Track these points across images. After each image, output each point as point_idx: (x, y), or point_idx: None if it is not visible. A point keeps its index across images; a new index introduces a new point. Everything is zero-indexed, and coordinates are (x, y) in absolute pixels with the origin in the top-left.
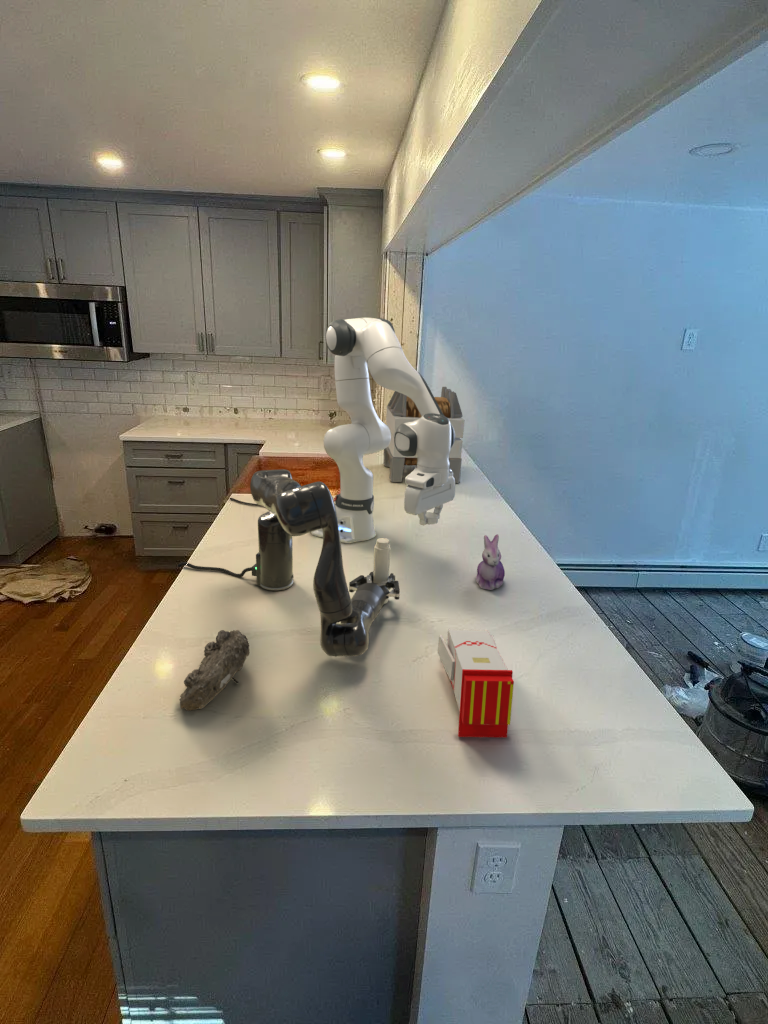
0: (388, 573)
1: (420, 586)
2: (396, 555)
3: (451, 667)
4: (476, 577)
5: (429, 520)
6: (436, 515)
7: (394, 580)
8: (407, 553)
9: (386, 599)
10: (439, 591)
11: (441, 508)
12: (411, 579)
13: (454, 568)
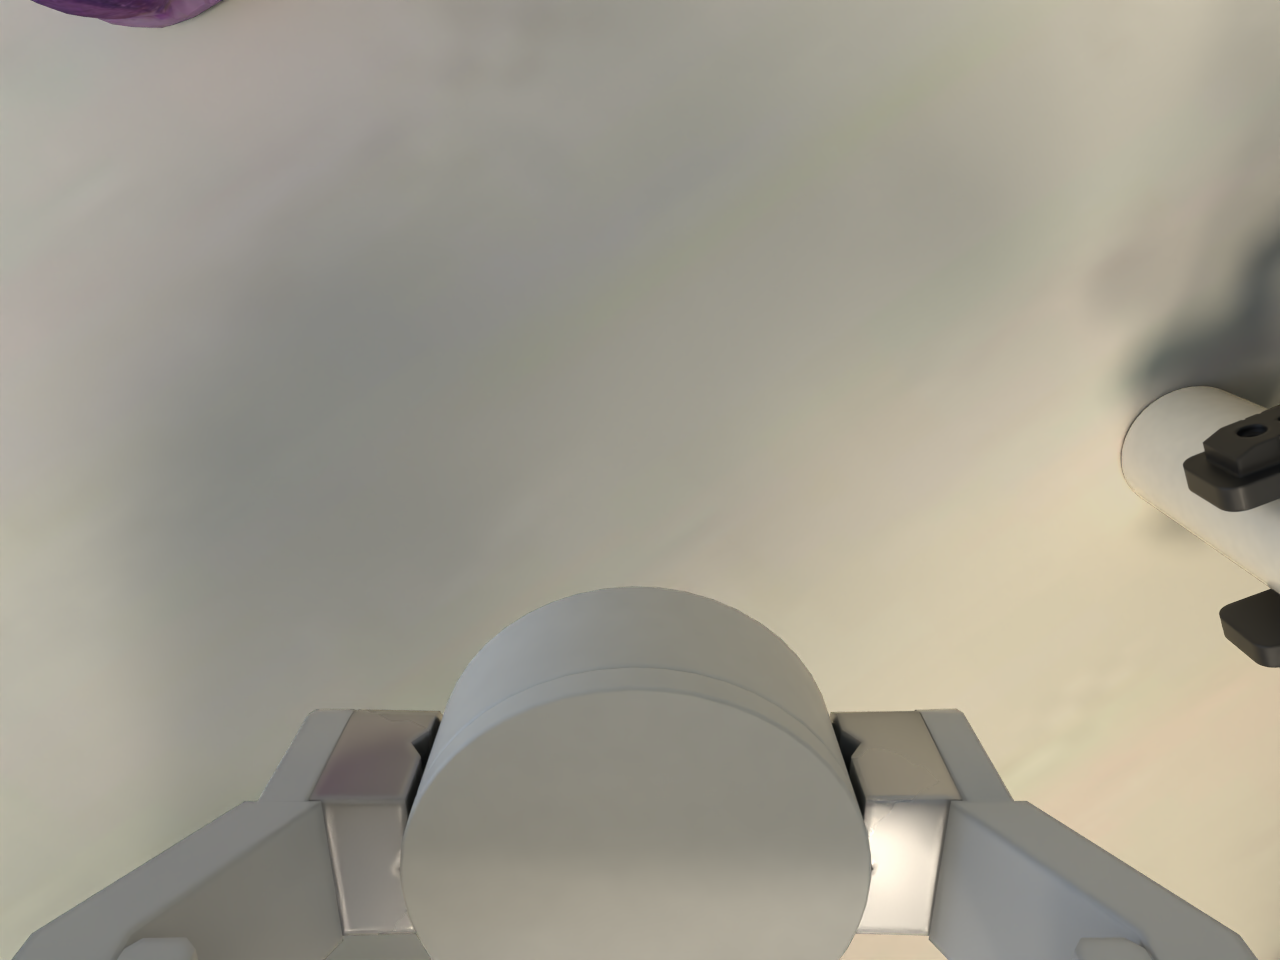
0: None
1: (741, 355)
2: None
3: None
4: (208, 1)
5: (831, 736)
6: (535, 762)
7: (1251, 424)
8: None
9: (1217, 395)
10: (707, 163)
11: (130, 908)
12: (682, 488)
13: (194, 333)
